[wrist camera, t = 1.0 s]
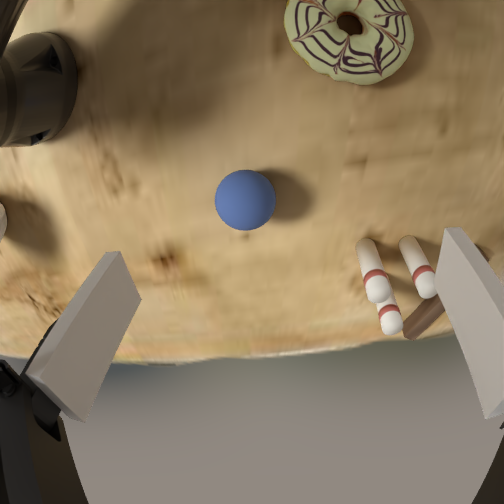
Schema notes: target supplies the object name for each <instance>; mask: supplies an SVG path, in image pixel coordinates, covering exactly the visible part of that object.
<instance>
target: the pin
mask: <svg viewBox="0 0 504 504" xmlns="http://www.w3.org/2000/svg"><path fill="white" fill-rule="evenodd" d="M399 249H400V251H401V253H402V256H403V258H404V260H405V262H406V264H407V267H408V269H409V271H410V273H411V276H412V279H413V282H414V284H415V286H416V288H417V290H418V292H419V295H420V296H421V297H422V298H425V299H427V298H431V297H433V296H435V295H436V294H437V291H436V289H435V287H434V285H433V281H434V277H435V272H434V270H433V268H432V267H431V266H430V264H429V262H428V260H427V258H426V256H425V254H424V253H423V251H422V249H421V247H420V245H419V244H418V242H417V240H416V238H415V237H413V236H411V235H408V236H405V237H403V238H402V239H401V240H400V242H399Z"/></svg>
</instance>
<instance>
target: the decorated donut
mask: <svg viewBox="0 0 504 504" xmlns="http://www.w3.org/2000/svg"><path fill="white" fill-rule="evenodd" d="M341 15H351V16H355V17H356V18H357V19H358V20H359V21H360V22H361V24H362V26H363V28H362V29H363V30H362V34H361V35H352V36H350V35H349V34H347V33H346V32H345V31H343V30H341V29H339V27H338V25H337V19H338V18H339V17H341ZM284 28H285V30H286V33H287V36H288V40H289V43H290V45H291V47H292V49H293V50H294V51H295V53H297V54H298V55H299V56H300V57H301V58H302V59H303V60H304V61H305V62H306V64H307V65H308V66H310V67H311V68H312V69H313V70H315V71H316V72H318V73H320V74H323V75H327V76H329V77H332V78H333V79H334V80H335V81H348V82H351V83H355V84H358V85H370V84H375V83H377V82H379V81H381V80H383V79H385V78H386V77H388V76H390V75H392V74H393V73H394V72H395V71H396V70H397V69H399V68H400V67H401V66H402V64H403V63H404V62H405V61H406V59H407V57H408V55H409V53H410V51H411V49H412V45H413V42H414V33H413V27H412V23H411V20H410V17H409V15H408V13H407V11H406V9H405V7H404V5H403V4H402V2H401V1H400V0H288V2H287V4H286V10H285V15H284Z"/></svg>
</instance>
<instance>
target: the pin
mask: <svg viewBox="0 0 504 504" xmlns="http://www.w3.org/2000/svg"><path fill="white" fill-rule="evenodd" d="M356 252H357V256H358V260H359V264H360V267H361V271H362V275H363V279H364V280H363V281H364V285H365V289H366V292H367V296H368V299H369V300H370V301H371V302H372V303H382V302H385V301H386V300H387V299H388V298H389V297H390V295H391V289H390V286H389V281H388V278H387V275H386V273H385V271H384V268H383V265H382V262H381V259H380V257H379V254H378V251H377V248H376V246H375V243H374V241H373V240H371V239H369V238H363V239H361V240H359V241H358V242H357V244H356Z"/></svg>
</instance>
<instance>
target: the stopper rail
mask: <svg viewBox="0 0 504 504" xmlns="http://www.w3.org/2000/svg"><path fill="white" fill-rule="evenodd" d="M474 245H475V244H474ZM475 246H476V245H475ZM476 247H477V246H476ZM477 249H478V250H479V251H480V253H481V254H482V256H483V257H484V258H485V260H486V261H487V262H488V261H489V259H488V258H487V257H486V255H485V254H484V253H483V251H482V250H481V249H480V248H479V247H477ZM444 311H445V308H444V306H443V304H442V302H441V299H440V297H439V295H438V293H437V294H436V295H435V296H433V297H431V298H427V299H425V300H424V301H423V302H422V303H421V305H420V306H419V307H418V308H417V309H416V310H415V311H414V312H413V313H412V314H411V315H410V316H409V317H408V318H407V319H406V320H405V321H404V322H403V328H402V330H403V334H404V337H405V338H408V339H410V340H413V341H414V340H415V339H416V338H417V337H418V336H419V335H420V334H421V333H422V332H423V331H424V330H426V329H427V328H428V327H429V326H430V325H431V324H432V323H433V322H434V321H435V320H436V319H437V318H438V317H439V316H440V315H441V314H442V313H443V312H444Z"/></svg>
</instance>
